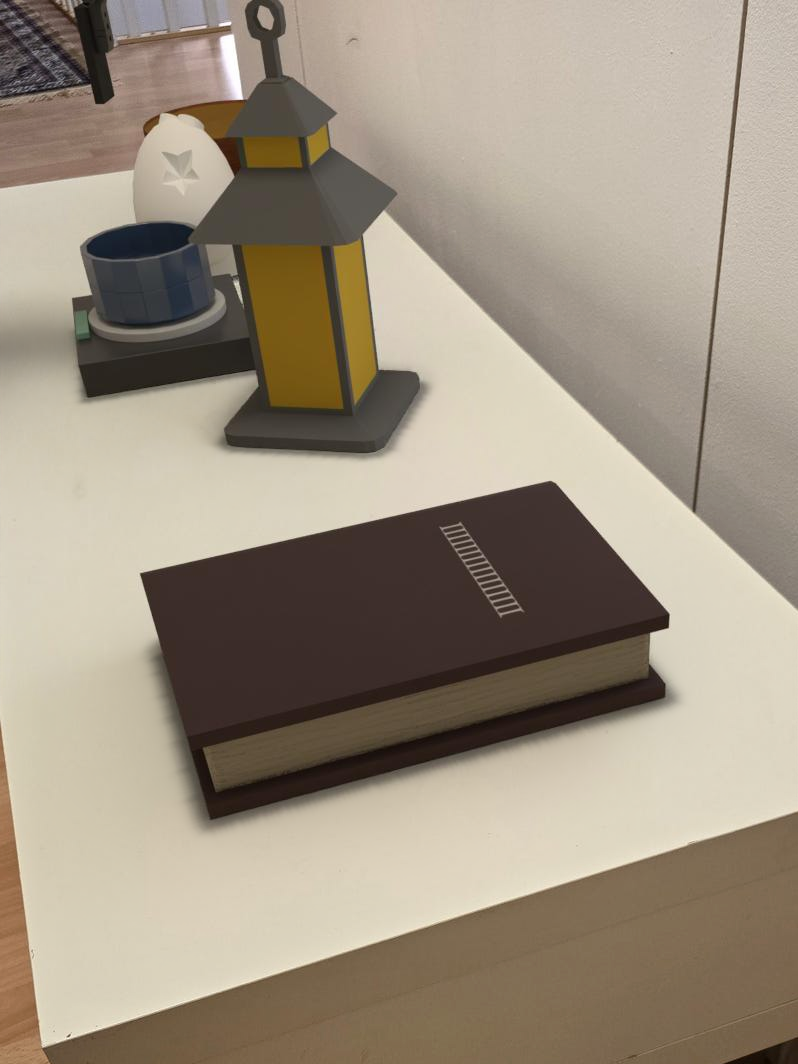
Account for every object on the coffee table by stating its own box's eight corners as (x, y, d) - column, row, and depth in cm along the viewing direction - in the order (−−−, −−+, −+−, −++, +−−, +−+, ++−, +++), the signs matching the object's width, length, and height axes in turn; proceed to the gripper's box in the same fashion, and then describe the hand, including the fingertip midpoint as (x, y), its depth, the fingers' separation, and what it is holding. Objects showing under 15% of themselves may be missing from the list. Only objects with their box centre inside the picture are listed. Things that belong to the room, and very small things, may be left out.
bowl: (159, 200, 154) (139, 110, 148) (297, 182, 157) (283, 92, 150) (167, 243, 142) (146, 147, 135) (316, 222, 144) (303, 127, 137)
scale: (87, 397, 111) (75, 355, 109) (80, 328, 124) (69, 289, 121) (260, 368, 114) (252, 327, 111) (235, 303, 127) (228, 264, 124)
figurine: (255, 286, 130) (226, 127, 119) (148, 298, 129) (110, 139, 119) (253, 252, 138) (226, 100, 127) (152, 263, 137) (117, 112, 127)
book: (546, 547, 87) (544, 470, 83) (665, 696, 74) (669, 613, 70) (158, 639, 82) (136, 561, 78) (210, 819, 68) (186, 736, 64)
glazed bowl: (81, 331, 113) (62, 263, 109) (120, 287, 121) (103, 222, 117) (197, 328, 112) (182, 260, 108) (229, 284, 120) (216, 219, 116)
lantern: (380, 453, 100) (326, 15, 79) (220, 445, 103) (128, 21, 82) (423, 381, 110) (386, -25, 89) (276, 376, 112) (206, -19, 92)
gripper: (122, -257, 87) (184, 87, 102) (-206, -239, 89) (-99, 94, 104) (88, -252, 82) (159, 110, 96) (-260, -233, 84) (-139, 117, 99)
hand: (25, 102), depth 100 cm, fingers open, 13 cm apart
